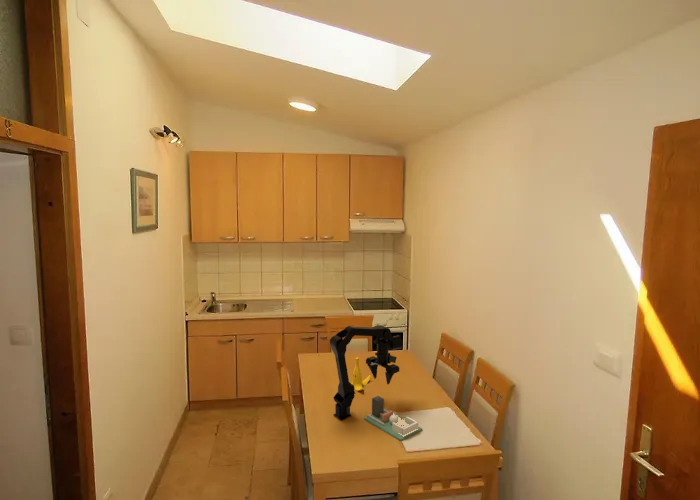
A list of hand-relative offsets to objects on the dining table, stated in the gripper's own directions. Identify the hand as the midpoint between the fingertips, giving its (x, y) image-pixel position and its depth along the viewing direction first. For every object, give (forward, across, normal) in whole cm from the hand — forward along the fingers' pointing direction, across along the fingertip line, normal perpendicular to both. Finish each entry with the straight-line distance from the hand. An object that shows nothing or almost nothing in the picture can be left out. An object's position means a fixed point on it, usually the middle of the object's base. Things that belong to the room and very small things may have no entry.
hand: (381, 381), depth 210 cm
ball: (+10, -17, +9) cm, 22 cm away
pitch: (+13, -16, +9) cm, 23 cm away
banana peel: (+13, +26, -9) cm, 31 cm away
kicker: (+12, -9, +9) cm, 18 cm away
